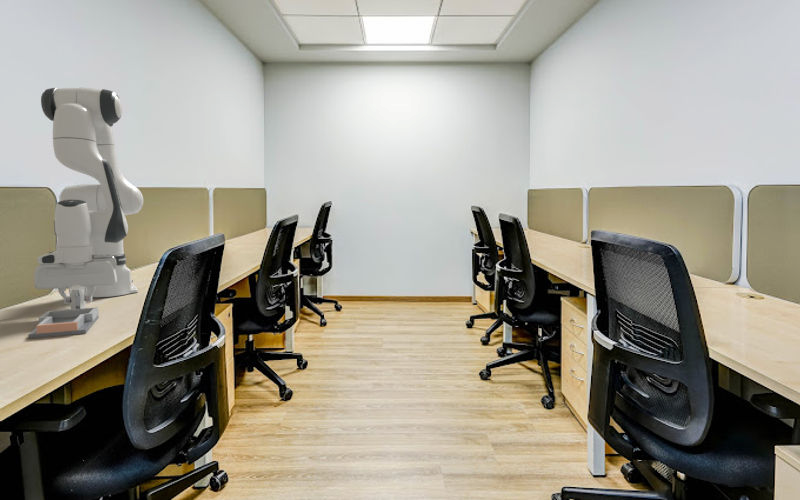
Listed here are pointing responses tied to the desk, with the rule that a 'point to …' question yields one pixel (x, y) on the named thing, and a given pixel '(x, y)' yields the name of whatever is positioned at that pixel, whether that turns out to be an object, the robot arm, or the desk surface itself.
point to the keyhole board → (65, 322)
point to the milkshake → (77, 297)
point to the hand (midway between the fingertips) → (78, 302)
